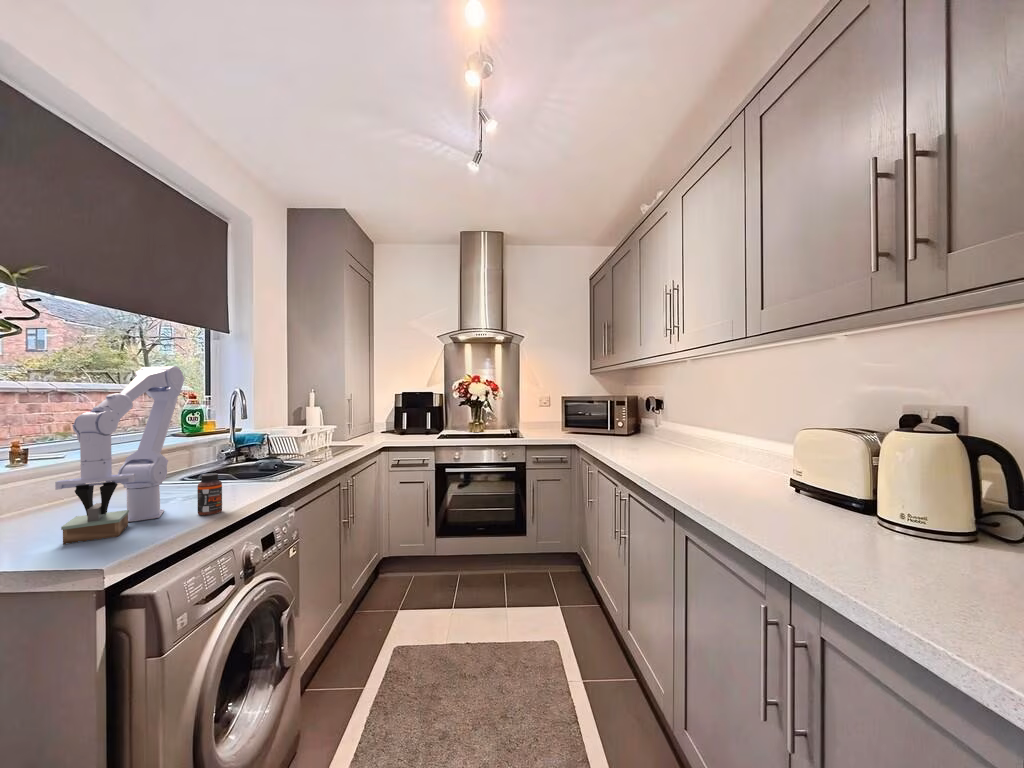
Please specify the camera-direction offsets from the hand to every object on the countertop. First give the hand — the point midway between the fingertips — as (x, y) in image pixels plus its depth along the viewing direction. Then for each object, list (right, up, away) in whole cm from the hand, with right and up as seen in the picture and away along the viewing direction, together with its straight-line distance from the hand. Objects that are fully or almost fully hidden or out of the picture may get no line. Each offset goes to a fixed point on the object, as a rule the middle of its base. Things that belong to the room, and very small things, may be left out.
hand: (97, 514), depth 112 cm
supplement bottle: (+16, -5, +18) cm, 25 cm away
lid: (0, -3, 0) cm, 3 cm away
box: (0, -5, 0) cm, 5 cm away
